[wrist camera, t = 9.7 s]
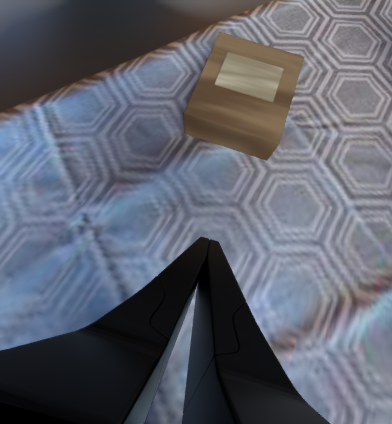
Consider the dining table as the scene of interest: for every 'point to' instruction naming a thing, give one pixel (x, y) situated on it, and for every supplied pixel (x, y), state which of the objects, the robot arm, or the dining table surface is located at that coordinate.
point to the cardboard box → (243, 96)
